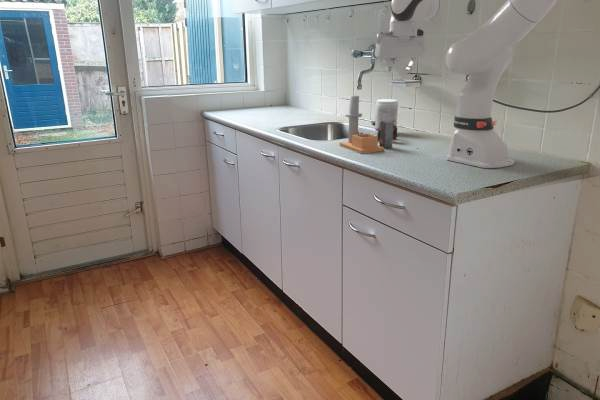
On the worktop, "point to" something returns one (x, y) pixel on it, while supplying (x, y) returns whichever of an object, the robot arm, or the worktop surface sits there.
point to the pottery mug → (393, 132)
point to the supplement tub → (386, 112)
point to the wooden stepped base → (361, 141)
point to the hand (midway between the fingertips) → (398, 70)
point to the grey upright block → (386, 134)
